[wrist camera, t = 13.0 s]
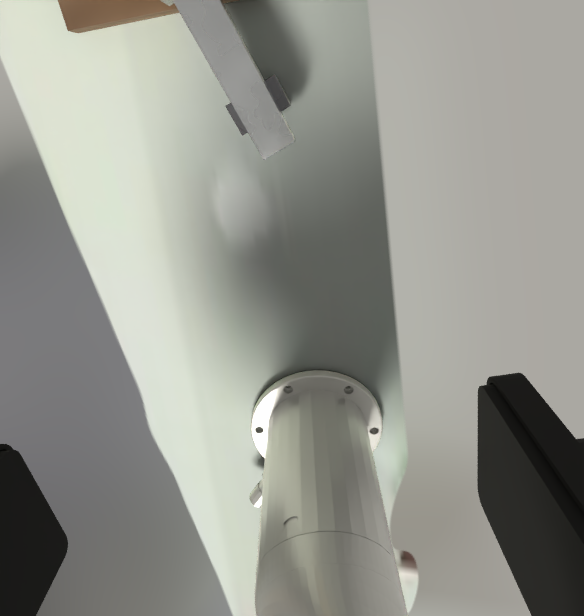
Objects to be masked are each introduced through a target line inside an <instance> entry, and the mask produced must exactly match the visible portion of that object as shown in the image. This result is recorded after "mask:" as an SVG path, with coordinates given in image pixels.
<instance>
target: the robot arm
mask: <svg viewBox="0 0 584 616" xmlns="http://www.w3.org/2000/svg"><path fill="white" fill-rule="evenodd" d="M382 429H383V424H382V416H381V412H380V408H379V406H378V403H377V401H376V399H375V398H374V396H373V395H372V394H371V392H370V391H369V390H368V389H367V388H366V387H365V386H363V385H362V384H361V383H360V382H358V381H356V380H355V379H353V378H351V377H349V376H346V375H343V374H340V373H337V372H331V371H325V370H311V371H304V372H299V373H295V374H292V375H289V376H286V377H285V378H283V379H281V380H279V381H277V382H275V383H274V384H273V385H271V386H270V387H269V388H268V389H267V390H266V391H265V392H264V393H263V394H262V395H261V397H260V398H259V400H258V401H257V403H256V405H255V407H254V411H253V415H252V422H251V432H252V438H253V441H254V444H255V446H256V448H257V449H258V451H259V452H260V454H261V455H262V456H263V457H264V458H265V462H264V471H263V474H262V476H263V479H262V480H261V481H260V482H259V483H258V484H257V486H256V487H255V488H254V489H253V491H252V492H251V493H250V501H251V503H252V504H253V505H254V506H256V507H258V508H261V515H260V528H259V541H258V554H257V567H256V582H255V608H256V615H257V616H408V613H407V609H406V605H405V601H404V596H403V592H402V587H401V582H400V578H399V573H398V569H397V565H396V560H395V556H394V551H393V546H392V542H391V537H390V532H389V528H388V523H387V518H386V514H385V509H384V504H383V500H382V495H381V490H380V486H379V481H378V476H377V472H376V467H375V462H374V458H373V451H374V450H375V449H376V447H377V445H378V443H379V441H380V439H381V434H382ZM478 493H479V498H480V502H481V504H482V507H483V509H484V512H485V514H486V516H487V518H488V521H489V523H490V525H491V527H492V529H493V532H494V534H495V536H496V538H497V540H498V543H499V545H500V547H501V549H502V552H503V554H504V556H505V558H506V560H507V563H508V565H509V567H510V569H511V571H512V573H513V576H514V578H515V580H516V582H517V585H518V587H519V589H520V591H521V593H522V595H523V598H524V600H525V602H526V604H527V606H528V609H529V611H530V613H531V615H532V616H584V438H583V439H575V437H574V436H573V435H572V434H571V432H570V431H569V430H568V429H567V428H566V426H565V425H564V424H563V423H562V421H561V420H560V419H559V418H558V416H557V415H556V414H555V413H554V412H553V410H552V409H551V408H550V407H549V405H548V404H547V403H546V402H545V400H544V399H543V398H542V397H541V396H540V394H539V393H538V392H537V391H536V389H535V388H534V387H533V386H532V384H531V383H530V382H529V381H528V380H527V378H526V377H525V376H524V375H523V374H521V373H515V374H508V375H500V376H492V377H489V378H488V380H487V385H484V386H480V387H479V389H478ZM67 548H68V541H67V537H66V535H65V533H64V531H63V530H62V527H61V526H60V524H59V522H58V520H57V519H56V517H55V515H54V513H53V511H52V510H51V508H50V506H49V504H48V502H47V501H46V499H45V497H44V495H43V494H42V492H41V490H40V488H39V486H38V485H37V483H36V481H35V480H34V478H33V476H32V474H31V472H30V471H29V469H28V467H27V465H26V464H25V462H24V460H23V458H22V456H21V455H20V453H19V452H18V451H16V450H13V449H12V447H11V446H9V445H7V444H0V616H36V614H37V612H38V610H39V608H40V606H41V604H42V602H43V600H44V598H45V596H46V594H47V592H48V590H49V588H50V586H51V584H52V582H53V580H54V578H55V576H56V574H57V572H58V570H59V568H60V566H61V564H62V562H63V560H64V558H65V555H66V553H67Z"/></svg>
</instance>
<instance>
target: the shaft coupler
mask: <svg viewBox="0 0 584 616" xmlns="http://www.w3.org/2000/svg"><path fill="white" fill-rule="evenodd" d="M160 1H162V2H163V3H165V4H167V5H168V6H171V5H172V4H175V5H176V7H177V9H178V11H179V12H180V14H181V16H182V18H183V19H184V21H185V23H186V25H187V26H188V28H189V30H190V32H191V33H192V35H193V37H194V39H195V40H196V42H197V44H198V46H199V47H200V49H201V51H202V53H203V54H204V56H205V58H206V60H207V61H208V63H209V65H210V67H211V68H212V70H213V72H214V74H215V75H216V77H217V79H218V81H219V82H220V84H221V86H222V88H223V89H224V91H225V93H226V95H227V96H228V98H229V100H230V102H231V103H230V104H228V105H227V106H226V108H227V110H228V111H229V113H230V115H231V117H232V118H233V120H234V122H235V124H236V125H237V127H238V129H239V131H240V132H241V134H242V135H244V134H246V133H247V132H248V133H249V135H250V137H251V138H252V140H253V142H254V144H255V145H256V147H257V149H258V151H259V152H260V154H261V156H262V158H263V159H264V160H265V159H267V158H268V157H270V156H272V155H273V154H275V153H277V152H278V151H280V150H282V149H283V148H285V147H287V146H288V145H290V144H292V143H293V142H295V137H294V135H293V133H292V131H291V129H290V128H289V126H288V124H287V122H286V120H285V118H284V116H283V114H282V113H281V111H283V110H284V109H286V108H287V107H289V106H291V103H290V101H289V99H288V97H287V95H286V93H285V91H284V89H283V87H282V86H281V84H280V82H279V80H278V78H277V76H276V75H273V76H272V77H270V78H268V79H267V80H265V81H264V79H263V77H262V75H261V73H260V71H259V69H258V67H257V65H256V64H255V62H254V60H253V58H252V56H251V54H250V52H249V50H248V49H247V47H246V45H245V43H244V41H243V39H242V37H241V35H240V33H239V32H238V30H237V28H236V26H235V24H234V22H233V20H232V18H231V16H230V15H229V13H228V11H227V9H226V7H225V5H224V3H223V1H222V0H160Z"/></svg>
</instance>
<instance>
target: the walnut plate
mask: <svg viewBox="0 0 584 616" xmlns="http://www.w3.org/2000/svg"><path fill="white" fill-rule="evenodd" d="M222 1H223V3H228V2H233V1H238V0H222ZM58 2H59V5H60V8H61V11H62V14H63V17H64V20H65V23H66V26H67V29H68V31H71V32H75V33H82V32H86V31H91V30H96V29H101V28H106V27H111V26H116V25H121V24H126V23H130V22H135V21H140V20H145V19H150V18H155V17H160V16H165V15H170V14H175V13H179V11H178V9H177V7H176V5H175V4H172V5H171V6H168V5H167V4H165V3H163V2H162V1H160V0H58Z"/></svg>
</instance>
